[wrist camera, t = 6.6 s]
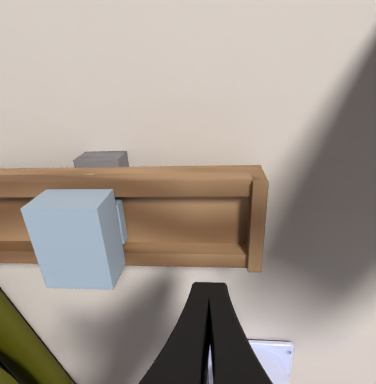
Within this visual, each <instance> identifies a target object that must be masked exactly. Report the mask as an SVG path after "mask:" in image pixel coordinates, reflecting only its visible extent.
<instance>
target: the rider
mask: <svg viewBox="0 0 376 384" xmlns="http://www.w3.org/2000/svg"><path fill="white" fill-rule="evenodd" d="M21 212H22V215H23V218H24V222H25V225H26V228H27V231H28V234H29V237H30V240H31V243H32V246H33V249H34V252H35V255H36V258H37V261H38V264H39V267H40V270H41V273H42V276H43V279H44V282H45V285H46V288H67V289H102V290H113V289H114V287H115V285H116V283H117V280H118V278H119V276H120V274H121V271H122V269H123V267H124V265H125V257H124V251H123V245H122V244H125V242H126V240H127V238H128V236H127V229H126V223H125V217H124V210H123V204H122V199H115V198H114V192H113V189H46V190H45V191H43V192H42V193H41V194H39V195H38V196H37V197H35V198H34V199H33V200H31V201H30V202H29V203H27V204H26V205H25V206H23V207H22V208H21Z"/></svg>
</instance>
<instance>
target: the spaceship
mask: <svg viewBox="0 0 376 384" xmlns="http://www.w3.org/2000/svg"><path fill="white" fill-rule="evenodd" d="M0 362H1V363H2V364H3V365H4V366H5V367H6V368H7V369H8V370H9V371H10V373H11V374H12V375H13V376H14V377H15V378H16V379H17V380H18V381H19V383H20V384H74V382H73V381H72V380H71V379H70V377H69V376H68V375H67V374H66V372H65V371H64V370H63V369H62V367H61V366H60V365H59V363H58V362H57V361H56V360H55V358H54V357H53V356H52V355H51V353H50V352H49V351H48V350H47V348H46V347H45V346H44V345H43V343H42V342H41V341H40V339H39V338H38V337H37V336H36V334H35V333H34V332H33V331H32V329H31V328H30V327H29V326H28V324H27V323H26V322H25V321H24V319H23V318H22V317H21V315H20V314H19V313H18V312H17V310H16V309H15V308H14V307H13V305H12V304H11V303H10V302H9V300H8V299H7V298H6V297H5V295H4V294H3V293H2V291H1V290H0ZM19 383H18V382H17V381H16V380H15V379H14V378H13V377H12V376H11V375H10V374H9V373H7V372H6V371H4V370H3V369H2V368H0V384H19Z"/></svg>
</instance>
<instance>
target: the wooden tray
mask: <svg viewBox="0 0 376 384" xmlns="http://www.w3.org/2000/svg"><path fill="white" fill-rule="evenodd" d="M73 162H74V166H75V168H20V169H0V263H30V264H38V261H37V258H36V255H35V252H34V249H33V246H32V243H31V240H30V237H29V234H28V231H27V228H26V225H25V222H24V218H23V215H22V212H21V208H22V207H23V206H25V205H26V204H27V203H29V202H30V201H31V200H33V199H34V198H35V197H37V196H38V195H39V194H41V193H42V192H43V191H45V190H46V189H113V192H114V198H115V199H122V204H123V210H124V217H125V223H126V229H127V236H128V238H127V240H126V242H125V244H122V245H123V251H124V257H125V265H131V266H181V267H232V268H247V269H248V272H261V268H262V256H263V244H264V232H265V220H266V208H267V196H268V185H269V182H268V180H267V178H266V176H265V174H264V172H263V170H262V167H261V165H237V166H165V167H129V164H128V157H127V151H102V152H85V153H83V154H82V155H81V156H79V157H78V158H76V159H75V160H73Z"/></svg>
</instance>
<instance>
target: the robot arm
mask: <svg viewBox="0 0 376 384" xmlns="http://www.w3.org/2000/svg"><path fill="white" fill-rule="evenodd" d="M293 354H294V345H293V343H291V342H283V341H260V340H247V338H246V335H245V333H244V331H243V329H242V327H241V325H240V322H239V320H238V318H237V316H236V313H235V311H234V308H233V305H232V303H231V300H230V296H229V293H228V289H227V285H226V284H225V283H212V282H195V283H193V284H192V288H191V291H190V294H189V297H188V300H187V302H186V304H185V307H184V309H183V311H182V313H181V315H180V318H179V320H178V322H177V324H176V326H175V328H174V329H173V331H172V333H171V335H170V337H169V338H168V340H167V342H166V344H165V345H164V347H163V349H162V350H161V352H160V353H159V355H158V357H157V358H156V360H155V361H154V363H153V364H152V366H151V367H150V369H149V370H148V371H147V373H146V374H145V375H144V377H143V378H142V380H141V381H140V382H139V384H206V381H207V371H208V370H209V384H290V382H289V377H290V372H291V366H292V360H293Z"/></svg>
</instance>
